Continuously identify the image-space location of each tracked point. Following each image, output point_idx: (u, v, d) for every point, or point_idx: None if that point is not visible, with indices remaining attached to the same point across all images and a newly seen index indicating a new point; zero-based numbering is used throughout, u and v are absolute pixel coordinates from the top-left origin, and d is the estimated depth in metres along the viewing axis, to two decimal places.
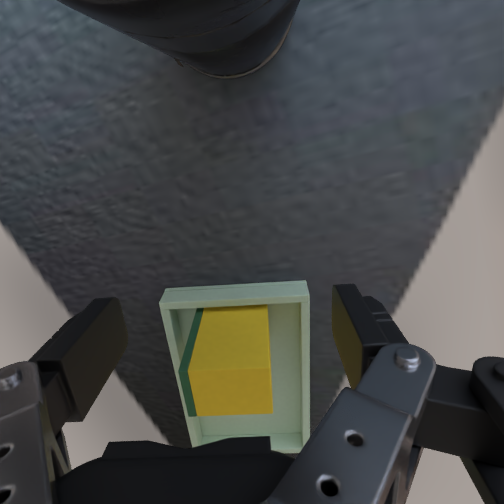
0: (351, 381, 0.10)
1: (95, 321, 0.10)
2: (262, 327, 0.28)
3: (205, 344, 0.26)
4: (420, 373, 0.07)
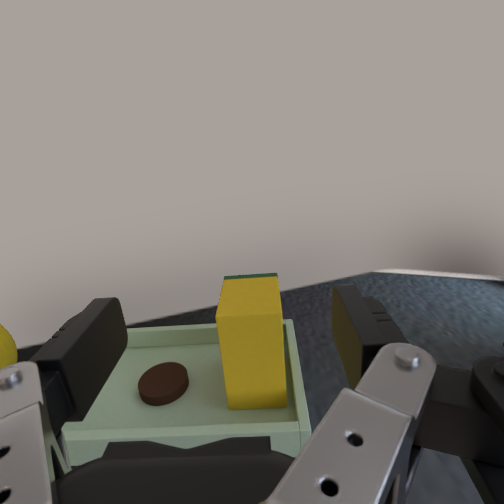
0: (351, 381, 0.10)
1: (95, 321, 0.10)
2: None
3: None
4: (420, 373, 0.07)
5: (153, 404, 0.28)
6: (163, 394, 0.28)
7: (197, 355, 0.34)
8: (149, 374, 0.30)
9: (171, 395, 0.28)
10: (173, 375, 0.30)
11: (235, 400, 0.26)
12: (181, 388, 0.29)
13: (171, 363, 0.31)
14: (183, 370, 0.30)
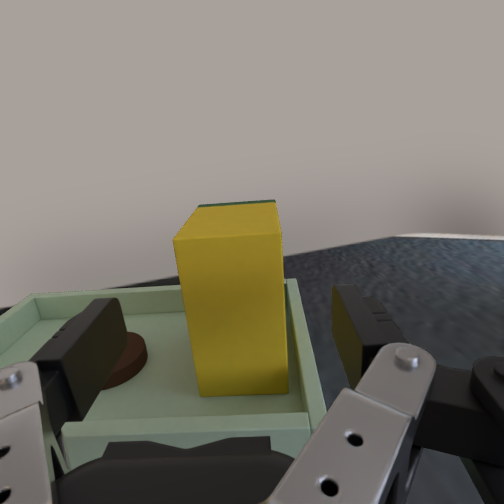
0: (351, 381, 0.10)
1: (95, 321, 0.10)
2: None
3: None
4: (420, 373, 0.07)
5: None
6: None
7: (165, 325, 0.24)
8: None
9: (115, 375, 0.19)
10: None
11: (209, 381, 0.17)
12: (132, 365, 0.19)
13: None
14: (139, 341, 0.21)
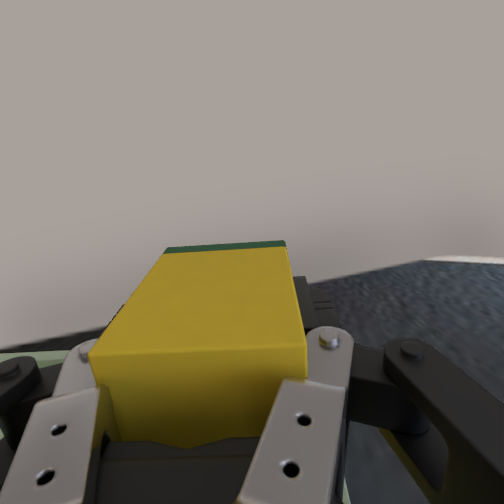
0: None
1: None
2: None
3: None
4: (337, 351, 0.08)
5: None
6: None
7: None
8: None
9: None
10: None
11: None
12: None
13: None
14: None
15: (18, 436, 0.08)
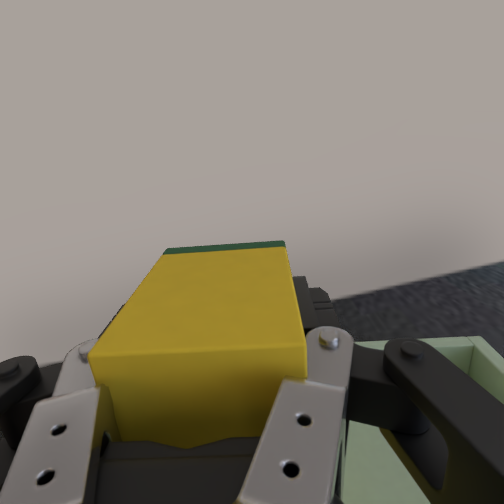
0: None
1: None
2: None
3: None
4: (337, 351, 0.08)
5: None
6: None
7: None
8: None
9: None
10: None
11: None
12: None
13: None
14: None
15: (18, 436, 0.08)
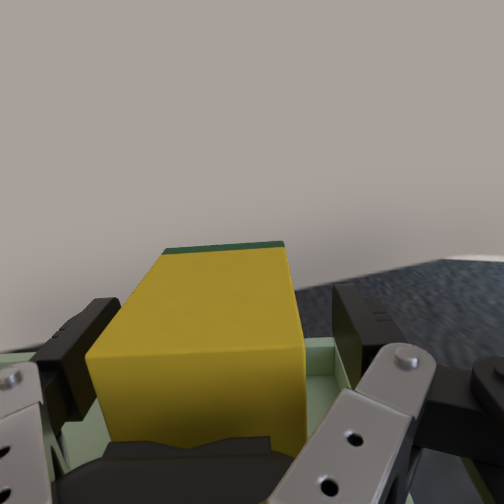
0: (351, 381, 0.10)
1: (95, 321, 0.10)
2: None
3: None
4: (420, 373, 0.07)
5: None
6: None
7: None
8: None
9: None
10: None
11: None
12: None
13: None
14: None
15: None
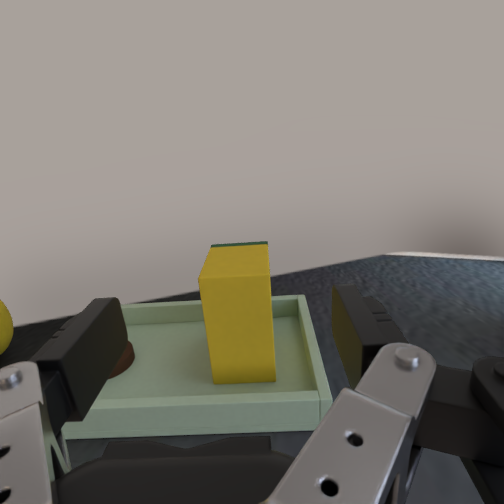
0: (351, 381, 0.10)
1: (95, 321, 0.10)
2: None
3: None
4: (420, 373, 0.07)
5: None
6: None
7: (204, 331, 0.32)
8: None
9: None
10: None
11: (220, 373, 0.25)
12: (124, 363, 0.27)
13: None
14: (128, 345, 0.29)
15: None
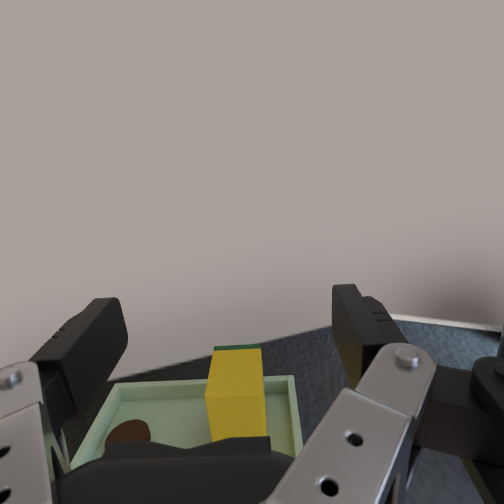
0: (351, 381, 0.10)
1: (95, 321, 0.10)
2: (264, 428, 0.29)
3: (262, 376, 0.33)
4: (420, 373, 0.07)
5: None
6: None
7: None
8: (115, 433, 0.34)
9: None
10: (136, 434, 0.34)
11: None
12: None
13: (135, 420, 0.36)
14: (145, 428, 0.35)
15: None
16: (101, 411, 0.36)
